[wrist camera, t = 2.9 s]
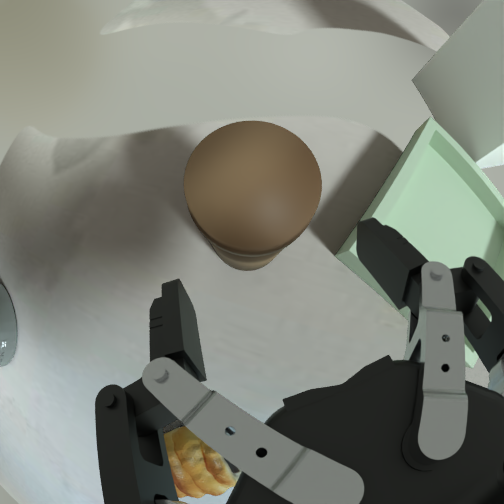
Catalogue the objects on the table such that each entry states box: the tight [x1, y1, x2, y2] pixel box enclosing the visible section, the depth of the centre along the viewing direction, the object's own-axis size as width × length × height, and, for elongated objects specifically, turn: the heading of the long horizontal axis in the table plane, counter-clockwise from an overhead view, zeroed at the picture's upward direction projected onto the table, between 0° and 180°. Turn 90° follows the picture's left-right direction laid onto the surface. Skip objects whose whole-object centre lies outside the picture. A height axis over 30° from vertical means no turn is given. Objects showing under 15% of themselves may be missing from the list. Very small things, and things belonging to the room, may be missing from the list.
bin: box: [335, 117, 504, 368], centre depth 20 cm, size 16×16×3 cm
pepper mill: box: [184, 121, 322, 271], centre depth 15 cm, size 5×5×11 cm
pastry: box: [164, 426, 242, 498], centre depth 17 cm, size 9×7×4 cm
